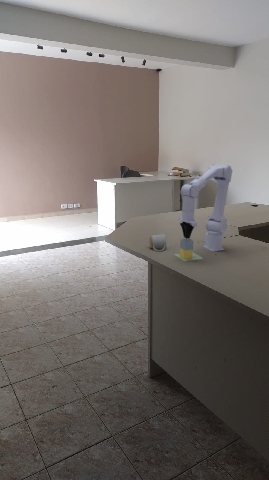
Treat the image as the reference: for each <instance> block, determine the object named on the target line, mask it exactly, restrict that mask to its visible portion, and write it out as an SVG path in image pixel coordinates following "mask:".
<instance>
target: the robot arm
mask: <svg viewBox="0 0 269 480" xmlns="http://www.w3.org/2000/svg"><path fill="white" fill-rule="evenodd" d="M232 175H233V169H232V167H231V165H229V164H228V165H226V164H225V165H224V164H214V163H213V164H212V165H210V166H209V167H208V170H207V171H206V172H205V173H204V174H203V175H202V176H198V175H197V176H195V178H194V179H192V180H191V181H189V183H187V184H183V185H182V187H181V189H180V195H181V200H182V207H181V210H182V211H181V215H180V216H178V221H179V222H180V223H179V225H180V227H181V230H182V235H183V239H187V238H189V239H191V236H192V232H193V230H194V229H195V227H198V222H197V221H196V220H195V207H196V206H195V205H196V204H195V203H196V197H198V194H199V192H200V191H201V190H202V189H203V188H204V187H206V185H207V182H209V181H211V180H212V179H213V180H214V181H216V182H217V188H216V195H215V199H214V200H215V201H214V206H213V212H212V214H210V215H209V216H208V218H207V220H206V223H205V229H206V230H207V231H206V233H205V236H204V245H202V246H203V248H205V249H207V250H209V251H212V252H218V251H220V252H221V251H225V250H226V249H225V248H224V247H223V246H222V245H223V235H224V234H225V233H226V232H227V229H228V225H227V224H228V219H227V218H226V217H225V216H224V212H225V206H226V202H227V195H228V192H229V191H228V190H229V185H230V182H231V181H232Z"/></svg>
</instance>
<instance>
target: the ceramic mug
mask: <svg viewBox="0 0 269 480" xmlns="http://www.w3.org/2000/svg"><path fill="white" fill-rule="evenodd" d="M149 247H150V248H151V249H153V250H154V252H164V251H165V249H166V248H167V237H166V234H155V235H154V234H153V235H151V236H149Z"/></svg>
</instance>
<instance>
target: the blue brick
mask: <svg viewBox="0 0 269 480" xmlns="http://www.w3.org/2000/svg"><path fill="white" fill-rule="evenodd" d="M180 248H181V249H183V250H194V239H191V238H187V239H186V238H180V245H179V249H180Z"/></svg>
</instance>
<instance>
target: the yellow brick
mask: <svg viewBox="0 0 269 480" xmlns="http://www.w3.org/2000/svg"><path fill="white" fill-rule="evenodd" d="M193 250H194V249H193ZM193 250H183V249H181V248H180V247H179V254H180V257H181V258H183V259H191V258H192V252H193V253H194V251H193Z"/></svg>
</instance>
